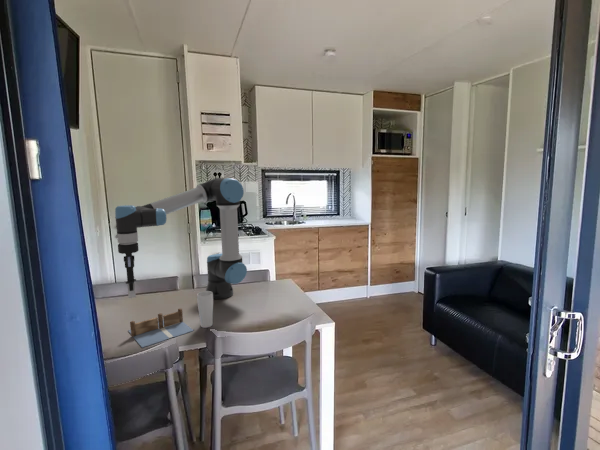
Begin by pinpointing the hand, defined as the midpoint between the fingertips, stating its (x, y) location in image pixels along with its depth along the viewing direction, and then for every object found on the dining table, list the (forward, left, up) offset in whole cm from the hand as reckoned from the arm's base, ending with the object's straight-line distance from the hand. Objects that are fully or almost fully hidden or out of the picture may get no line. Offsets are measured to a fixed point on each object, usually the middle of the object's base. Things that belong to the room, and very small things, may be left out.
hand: (132, 297), depth 141 cm
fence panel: (+6, +4, -15) cm, 16 cm away
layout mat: (+8, +8, -15) cm, 19 cm away
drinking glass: (+16, +25, -15) cm, 34 cm away
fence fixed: (+5, +14, -15) cm, 21 cm away
